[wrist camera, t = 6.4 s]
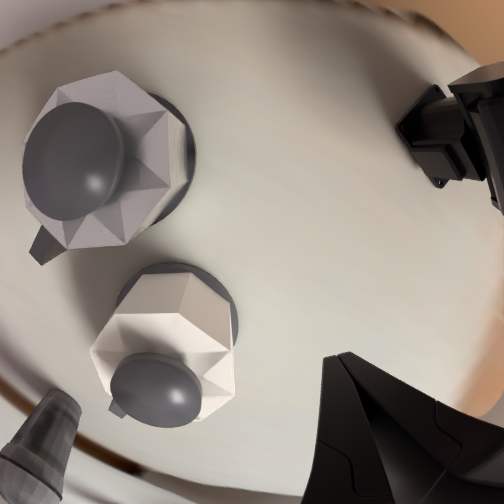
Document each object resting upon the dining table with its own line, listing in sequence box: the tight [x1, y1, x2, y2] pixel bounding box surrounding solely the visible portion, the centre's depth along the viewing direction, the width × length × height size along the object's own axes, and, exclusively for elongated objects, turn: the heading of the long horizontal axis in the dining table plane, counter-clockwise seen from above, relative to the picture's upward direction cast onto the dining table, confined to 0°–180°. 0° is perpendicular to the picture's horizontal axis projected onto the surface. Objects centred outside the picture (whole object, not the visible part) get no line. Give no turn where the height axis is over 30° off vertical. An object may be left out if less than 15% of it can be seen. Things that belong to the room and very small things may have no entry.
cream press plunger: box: [110, 352, 202, 428], centre depth 16 cm, size 5×5×6 cm
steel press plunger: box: [22, 102, 125, 221], centre depth 12 cm, size 5×5×6 cm
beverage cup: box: [0, 389, 82, 504], centre depth 14 cm, size 7×7×20 cm
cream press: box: [89, 263, 238, 421], centre depth 18 cm, size 12×9×6 cm
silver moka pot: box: [22, 70, 197, 266], centre depth 15 cm, size 12×9×6 cm
